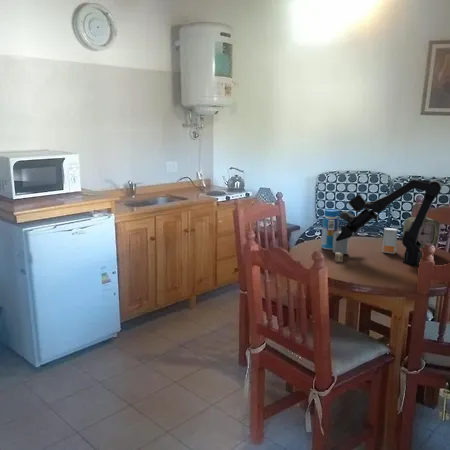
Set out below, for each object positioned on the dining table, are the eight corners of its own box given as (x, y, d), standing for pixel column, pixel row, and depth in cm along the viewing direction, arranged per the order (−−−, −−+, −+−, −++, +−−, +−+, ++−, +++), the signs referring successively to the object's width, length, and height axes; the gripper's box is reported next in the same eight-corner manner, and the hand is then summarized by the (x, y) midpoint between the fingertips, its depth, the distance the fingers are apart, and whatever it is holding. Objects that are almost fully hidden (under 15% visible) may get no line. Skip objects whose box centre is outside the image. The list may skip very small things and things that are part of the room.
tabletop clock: (407, 255, 226) (411, 205, 221) (399, 250, 235) (404, 201, 230) (436, 255, 227) (441, 205, 222) (427, 250, 236) (432, 201, 231)
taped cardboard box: (334, 259, 219) (335, 251, 218) (342, 260, 218) (343, 252, 217) (334, 261, 215) (335, 253, 214) (342, 262, 214) (343, 254, 214)
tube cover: (350, 253, 226) (351, 233, 224) (337, 254, 224) (338, 234, 222) (343, 249, 233) (344, 230, 231) (330, 250, 231) (331, 231, 229)
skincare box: (381, 252, 231) (383, 229, 229) (383, 250, 235) (385, 227, 233) (394, 254, 229) (396, 230, 226) (395, 252, 232) (397, 228, 230)
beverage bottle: (317, 247, 240) (319, 209, 236) (327, 244, 245) (329, 207, 241) (331, 250, 234) (333, 212, 230) (341, 248, 239) (343, 210, 235)
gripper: (355, 203, 230) (332, 222, 237) (346, 209, 214) (321, 229, 221) (371, 220, 228) (347, 239, 235) (362, 227, 212) (337, 247, 219)
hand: (338, 238), depth 228 cm, fingers closed on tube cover, 7 cm apart
